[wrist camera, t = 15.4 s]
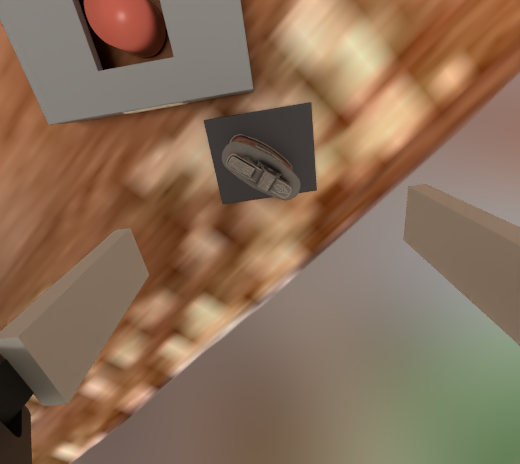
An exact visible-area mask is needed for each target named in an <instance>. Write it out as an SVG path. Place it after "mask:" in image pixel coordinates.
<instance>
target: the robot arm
mask: <svg viewBox="0 0 520 464" xmlns="http://www.w3.org/2000/svg"><path fill="white" fill-rule="evenodd" d="M404 241H405V242H406V243H408V244H409V245H410V246H411V247H412V248H413V249H414V250H415V251H416V252H418V253H419V254H420V255H421V256H422V257H423V258H424V259H425V260H426V261H427V262H428V263H430V264H431V265H432V266H433V267H434V268H435V269H436V270H437V271H438V272H440V273H441V274H442V275H443V276H444V277H445V278H446V279H447V280H448V281H449V282H451V283H452V284H453V285H454V286H455V287H456V288H457V289H458V290H459V291H460V292H462V293H463V294H464V295H465V296H466V297H467V298H468V299H469V300H470V301H471V302H472V303H474V304H475V305H476V306H477V307H478V308H479V309H480V310H481V311H482V312H484V313H485V314H486V315H487V316H488V317H489V318H490V319H491V320H492V321H493V322H495V323H496V324H497V325H498V326H499V327H500V328H501V329H502V330H503V331H504V332H505V333H507V334H508V335H509V336H510V337H511V338H512V339H513V340H514V341H515V342H516V343H518V344H519V345H520V227H518V226H516V225H514V224H512V223H509V222H507V221H505V220H503V219H501V218H499V217H496V216H494V215H492V214H490V213H488V212H486V211H483V210H481V209H479V208H476V207H474V206H472V205H470V204H468V203H466V202H464V201H461V200H459V199H457V198H455V197H453V196H451V195H449V194H446V193H444V192H442V191H440V190H438V189H436V188H433V187H431V186H429V185H427V184H422V185H415V186H409V187H408V197H407V207H406V219H405V230H404ZM148 276H149V273H148V271H147V268H146V266H145V263H144V261H143V258H142V256H141V253H140V251H139V248H138V246H137V243H136V241H135V239H134V236H133V234H132V231H131V229H130V228H127V229H120V230H115V231H114V232H112V233H111V234H110V235H109V236H108V237H107V238H106V239H104V240H103V241H102V242H101V243H100V244H99V245H98V246H97V247H95V248H94V249H93V250H92V251H91V252H90V253H89V254H87V255H86V256H85V257H84V258H83V259H82V260H81V261H79V262H78V263H77V264H76V265H75V266H74V267H73V268H72V269H70V270H69V271H68V272H67V273H66V274H65V275H64V276H62V277H61V278H60V279H59V280H58V281H57V282H56V283H55V284H53V285H52V286H51V287H50V288H49V289H48V290H47V291H45V292H44V293H43V294H42V295H41V296H40V297H39V298H37V299H36V300H35V301H34V302H33V303H32V304H31V305H30V306H28V307H27V308H26V309H25V310H24V311H23V312H22V313H20V314H19V315H18V316H17V317H16V318H15V319H14V320H12V321H11V322H10V323H9V324H8V325H7V326H6V327H5V328H3V329H2V330H1V331H0V464H32V451H31V414H30V412H29V410H28V408H27V407H26V406H25V404H26V402H27V401H28V400H29V399H30V397H31V396H32V395H33V394H34V395H35V396H36V398H37V399H38V400H39V401H40V402H41V404H42V405H43V406H52V405H60V404H68V403H69V401H70V400H71V398H72V397H73V395H74V393H75V392H76V390H77V389H78V387H79V385H80V384H81V382H82V381H83V379H84V378H85V376H86V374H87V373H88V371H89V370H90V368H91V366H92V365H93V363H94V362H95V360H96V359H97V357H98V355H99V354H100V352H101V351H102V349H103V347H104V346H105V344H106V343H107V341H108V340H109V338H110V336H111V335H112V333H113V332H114V330H115V328H116V327H117V325H118V324H119V322H120V321H121V319H122V317H123V316H124V314H125V313H126V311H127V309H128V308H129V306H130V305H131V303H132V302H133V300H134V298H135V297H136V295H137V294H138V292H139V291H140V289H141V287H142V286H143V284H144V283H145V281H146V279H147V278H148Z"/></svg>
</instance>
